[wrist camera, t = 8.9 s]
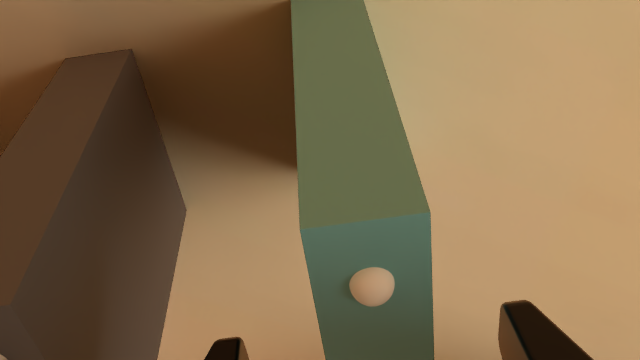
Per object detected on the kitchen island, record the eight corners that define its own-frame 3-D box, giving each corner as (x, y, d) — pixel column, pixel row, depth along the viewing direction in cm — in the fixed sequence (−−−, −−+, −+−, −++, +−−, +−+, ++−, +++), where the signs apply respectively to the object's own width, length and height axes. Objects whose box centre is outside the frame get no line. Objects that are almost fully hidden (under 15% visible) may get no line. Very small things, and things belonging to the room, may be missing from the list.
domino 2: (376, 166, 17) (440, 453, 10) (318, 174, 17) (345, 463, 10) (359, -11, 14) (435, 227, 7) (290, -1, 14) (300, 246, 7)
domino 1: (186, 210, 17) (127, 508, 11) (131, 217, 17) (38, 519, 11) (131, 48, 14) (1, 323, 8) (66, 58, 14) (-121, 338, 8)
